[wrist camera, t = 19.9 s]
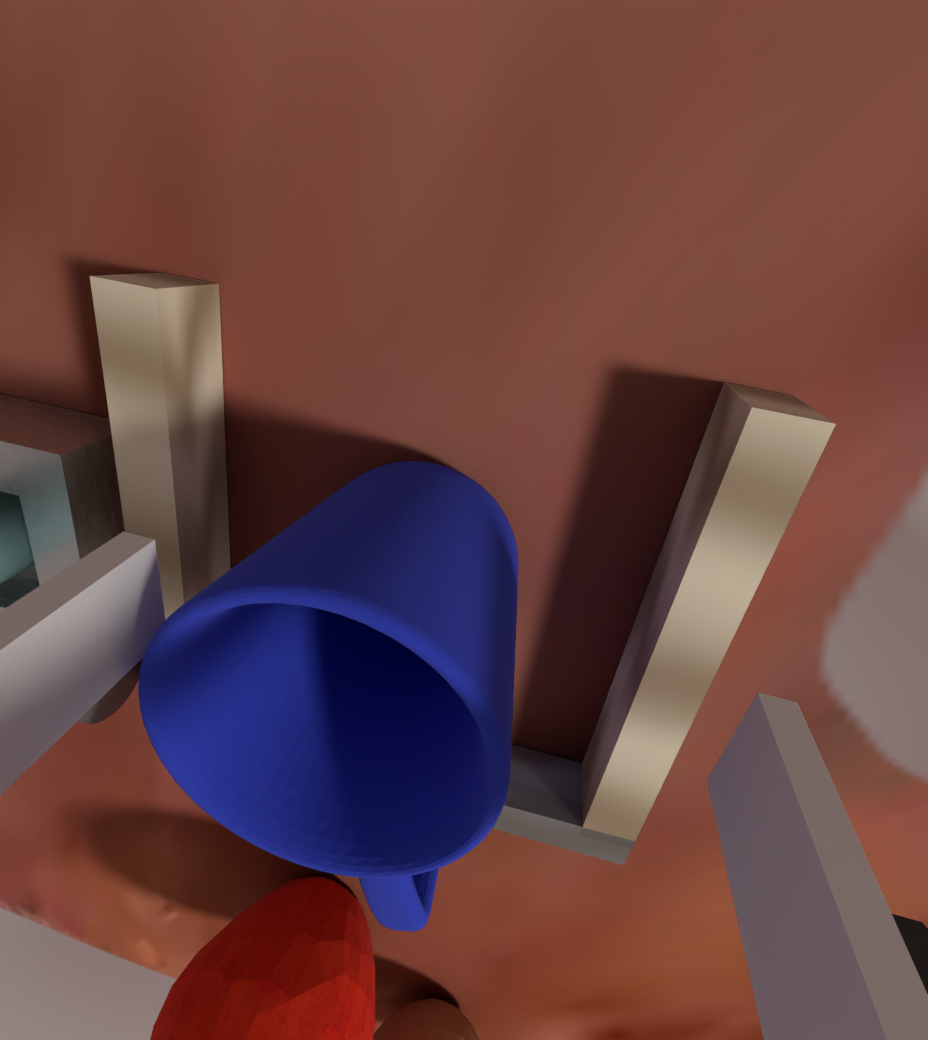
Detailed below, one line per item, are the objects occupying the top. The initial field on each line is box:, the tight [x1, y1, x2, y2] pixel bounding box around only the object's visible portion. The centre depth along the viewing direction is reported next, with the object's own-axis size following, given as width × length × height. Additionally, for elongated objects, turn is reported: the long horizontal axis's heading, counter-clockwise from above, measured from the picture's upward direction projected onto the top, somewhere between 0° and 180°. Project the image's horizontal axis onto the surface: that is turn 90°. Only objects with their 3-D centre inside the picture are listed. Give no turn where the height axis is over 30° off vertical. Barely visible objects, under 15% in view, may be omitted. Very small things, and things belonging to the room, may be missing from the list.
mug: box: [139, 461, 518, 931], centre depth 17 cm, size 8×12×10 cm
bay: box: [90, 273, 836, 865], centre depth 20 cm, size 18×20×3 cm
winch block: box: [0, 394, 143, 724], centre depth 22 cm, size 13×9×4 cm
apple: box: [150, 876, 375, 1040], centre depth 27 cm, size 10×10×12 cm
